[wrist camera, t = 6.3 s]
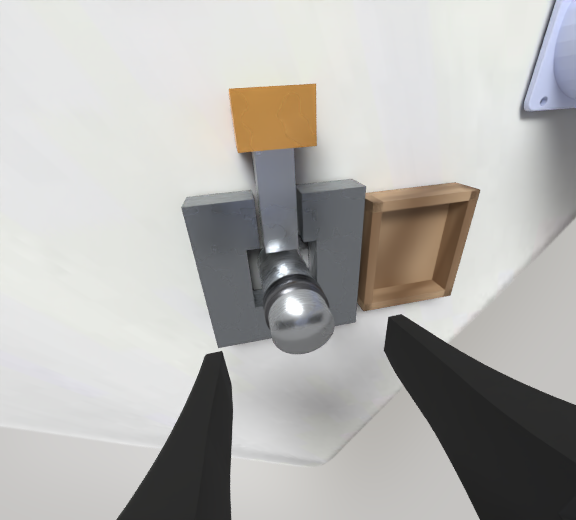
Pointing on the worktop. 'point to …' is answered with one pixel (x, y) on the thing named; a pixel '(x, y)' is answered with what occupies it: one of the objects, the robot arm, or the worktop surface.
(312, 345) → the silver metal canister
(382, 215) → the square wooden tray
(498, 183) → the worktop surface
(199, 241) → the socket
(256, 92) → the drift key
